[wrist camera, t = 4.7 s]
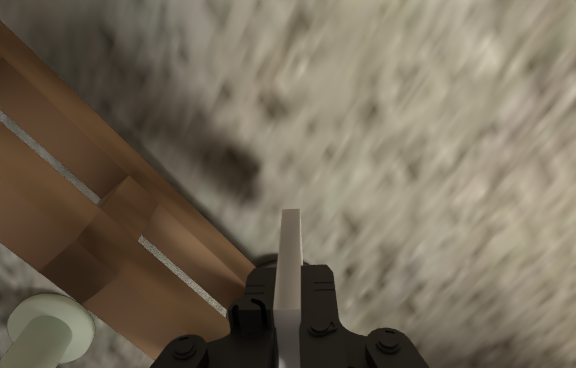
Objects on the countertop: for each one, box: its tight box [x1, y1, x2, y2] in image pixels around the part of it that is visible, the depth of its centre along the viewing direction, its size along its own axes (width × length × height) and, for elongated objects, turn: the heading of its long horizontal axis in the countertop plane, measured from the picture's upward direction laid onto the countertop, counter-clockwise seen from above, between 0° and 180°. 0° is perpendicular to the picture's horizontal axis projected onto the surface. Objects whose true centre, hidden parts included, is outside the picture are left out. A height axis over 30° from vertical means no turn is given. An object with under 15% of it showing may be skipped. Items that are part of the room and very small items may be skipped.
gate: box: [0, 21, 256, 360], centre depth 15 cm, size 16×2×7 cm, turn 39°
